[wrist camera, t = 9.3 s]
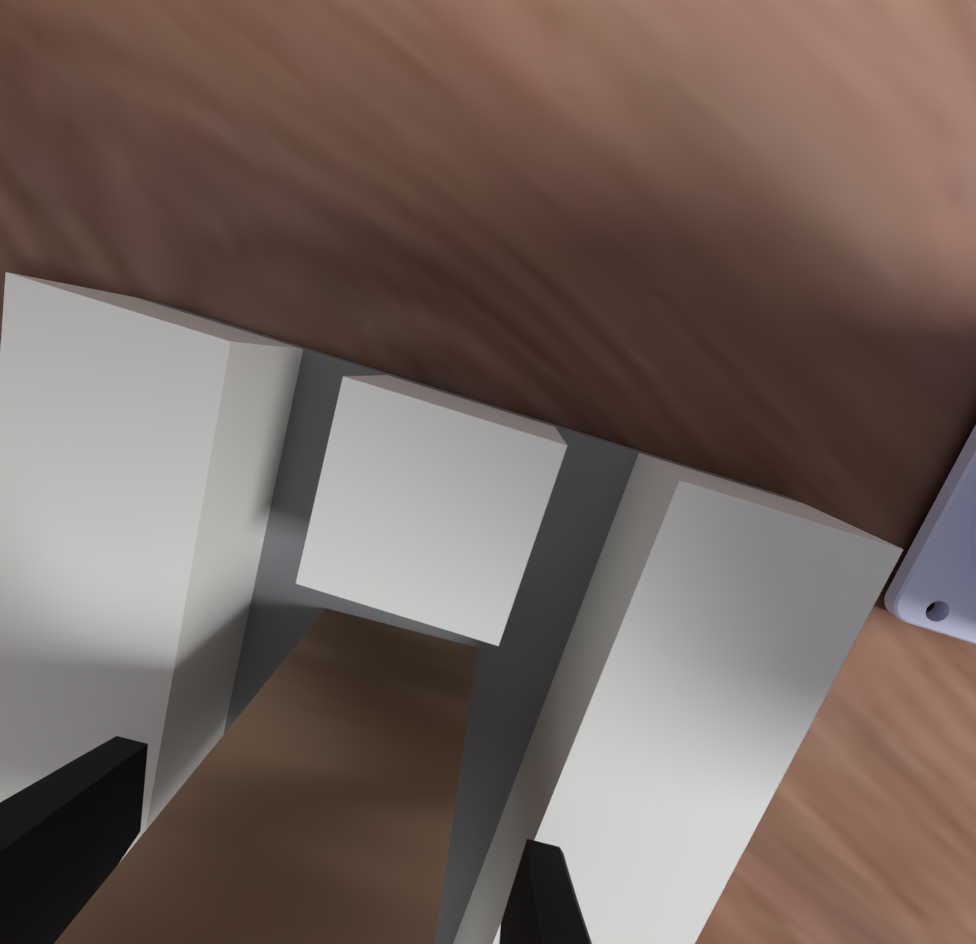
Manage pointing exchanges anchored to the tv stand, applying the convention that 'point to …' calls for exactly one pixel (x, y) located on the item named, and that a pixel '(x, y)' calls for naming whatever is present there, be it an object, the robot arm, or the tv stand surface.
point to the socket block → (408, 593)
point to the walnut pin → (309, 805)
